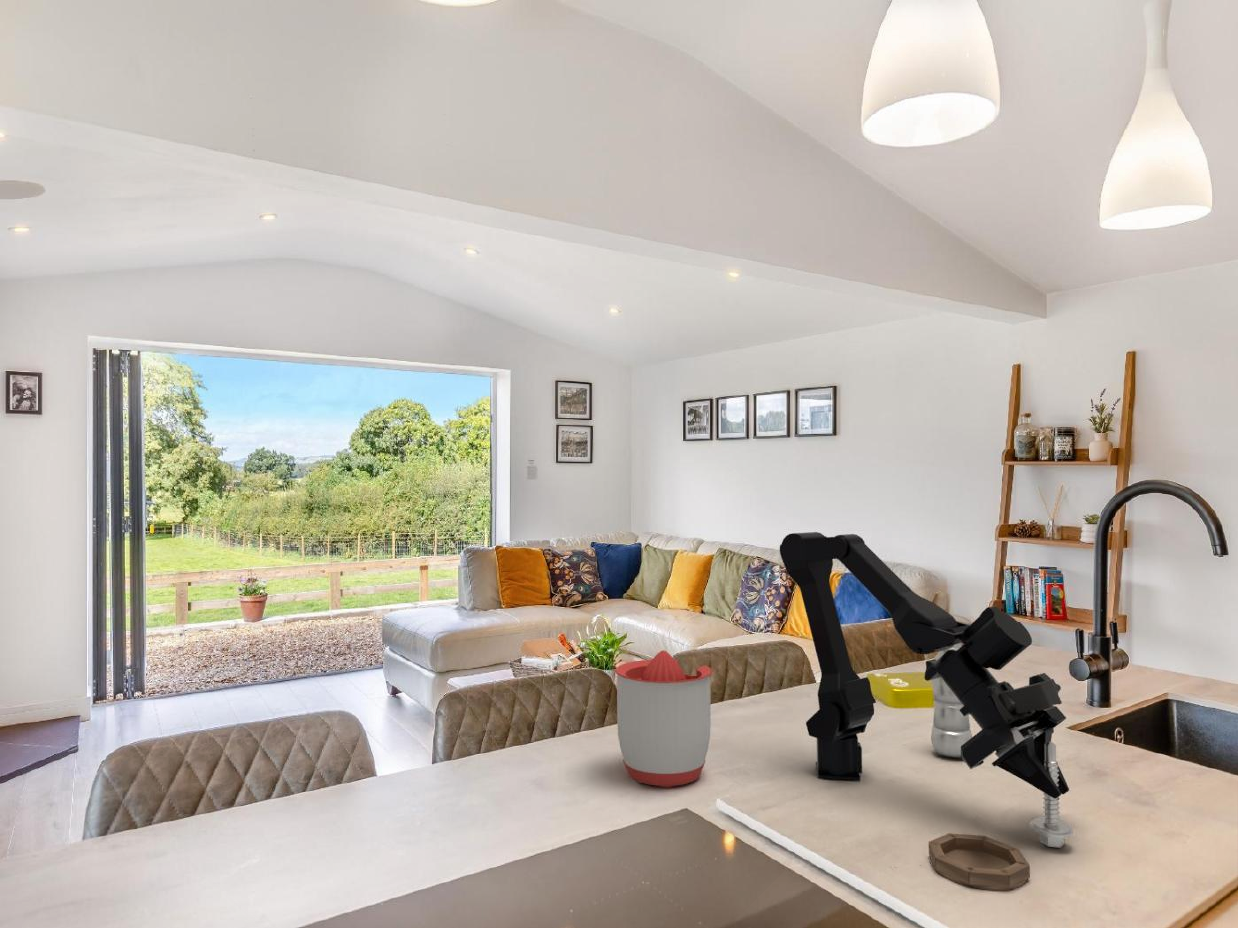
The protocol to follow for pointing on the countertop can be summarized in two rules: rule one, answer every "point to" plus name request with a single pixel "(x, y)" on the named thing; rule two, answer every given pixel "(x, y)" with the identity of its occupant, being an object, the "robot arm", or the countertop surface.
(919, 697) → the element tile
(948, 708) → the plastic bottle
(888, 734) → the countertop surface
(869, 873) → the countertop surface
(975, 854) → the brown wooden tray
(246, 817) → the countertop surface
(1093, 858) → the countertop surface
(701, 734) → the citrus juicer
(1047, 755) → the screw
